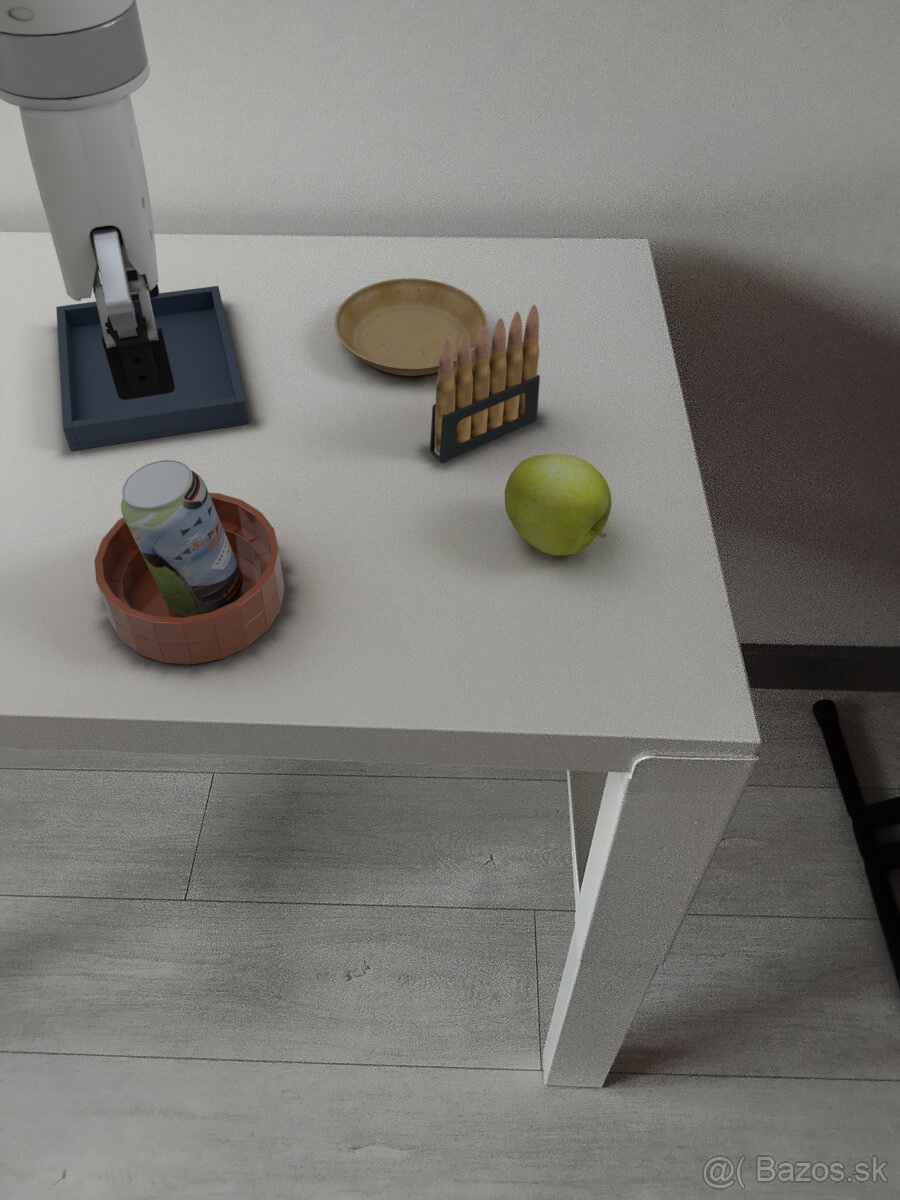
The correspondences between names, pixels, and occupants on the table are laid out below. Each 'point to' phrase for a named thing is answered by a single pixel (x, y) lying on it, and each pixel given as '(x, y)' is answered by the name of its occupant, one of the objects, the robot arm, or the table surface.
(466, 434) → the ammunition clip
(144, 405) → the tray
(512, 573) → the table surface
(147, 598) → the bowl
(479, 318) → the plant saucer
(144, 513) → the beverage can
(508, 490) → the apple
